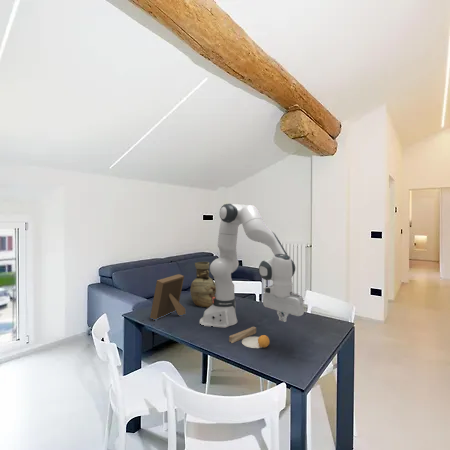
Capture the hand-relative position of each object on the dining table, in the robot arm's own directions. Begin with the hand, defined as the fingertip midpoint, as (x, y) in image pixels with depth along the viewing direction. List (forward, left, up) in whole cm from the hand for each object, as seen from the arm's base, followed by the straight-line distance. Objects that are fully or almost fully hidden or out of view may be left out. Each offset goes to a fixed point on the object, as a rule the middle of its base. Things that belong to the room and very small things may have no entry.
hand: (282, 320), depth 130 cm
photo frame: (-63, +49, -15) cm, 81 cm away
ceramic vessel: (-45, +75, -15) cm, 89 cm away
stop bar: (-18, +18, -15) cm, 29 cm away
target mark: (-12, +12, -15) cm, 23 cm away
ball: (-8, +7, -12) cm, 16 cm away
